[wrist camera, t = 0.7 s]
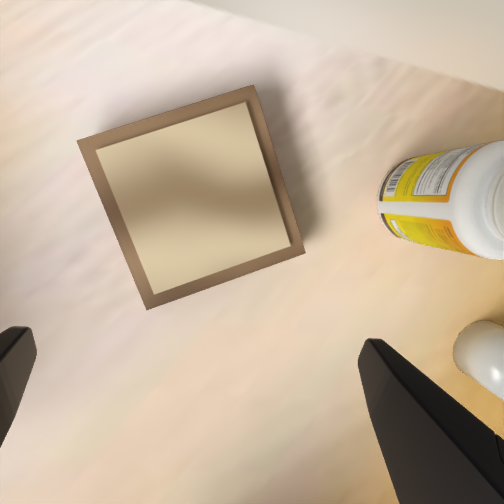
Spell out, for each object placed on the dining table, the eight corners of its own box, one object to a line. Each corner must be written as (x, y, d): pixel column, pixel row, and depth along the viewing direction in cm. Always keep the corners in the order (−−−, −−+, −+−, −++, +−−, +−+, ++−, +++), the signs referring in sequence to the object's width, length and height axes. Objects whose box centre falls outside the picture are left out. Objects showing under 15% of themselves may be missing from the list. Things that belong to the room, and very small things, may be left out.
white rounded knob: (514, 353, 27) (567, 380, 23) (467, 386, 27) (512, 419, 23) (491, 308, 26) (541, 328, 22) (442, 342, 26) (485, 368, 22)
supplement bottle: (448, 237, 25) (616, 265, 15) (373, 243, 24) (494, 278, 14) (451, 154, 24) (631, 125, 14) (372, 159, 23) (501, 131, 13)
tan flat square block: (297, 248, 23) (307, 254, 21) (151, 300, 23) (145, 311, 20) (249, 94, 21) (254, 82, 19) (88, 145, 21) (74, 139, 18)
